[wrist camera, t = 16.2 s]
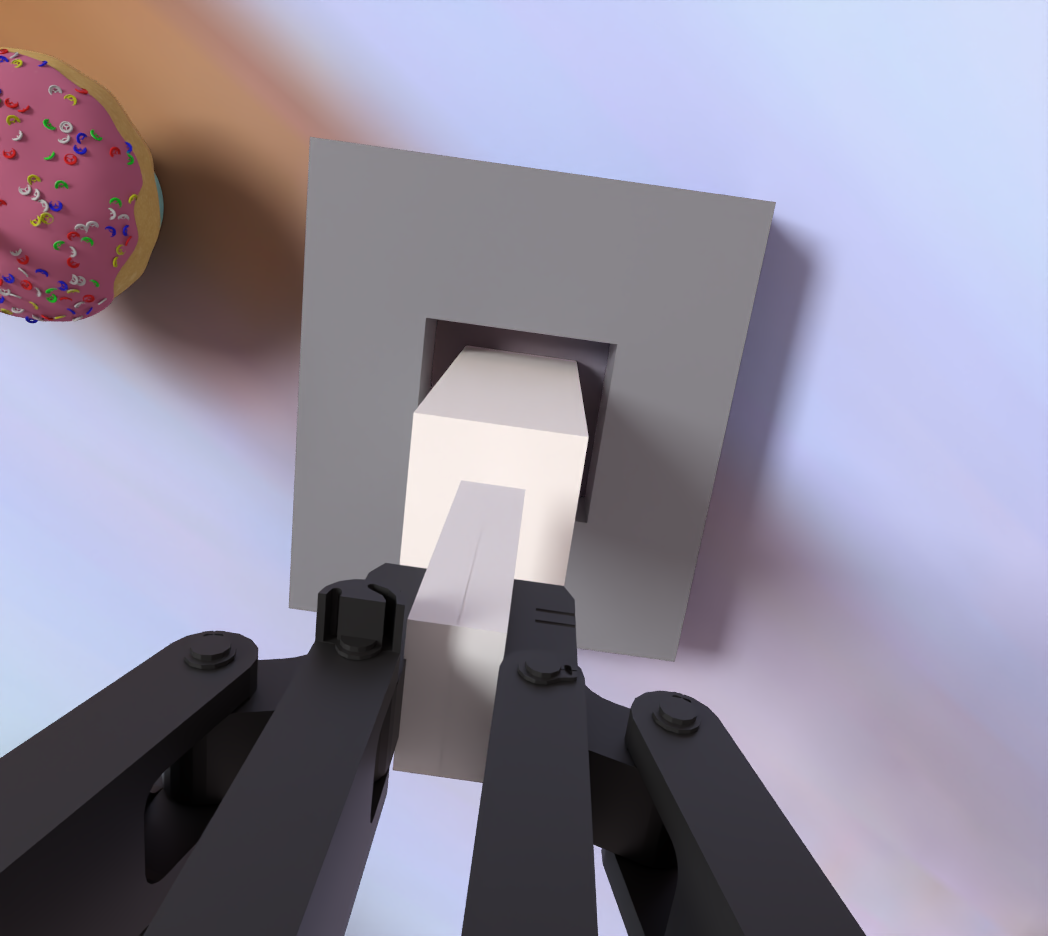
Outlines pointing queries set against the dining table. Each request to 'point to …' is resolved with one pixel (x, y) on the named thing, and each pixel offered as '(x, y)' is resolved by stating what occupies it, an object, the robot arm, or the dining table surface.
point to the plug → (500, 453)
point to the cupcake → (69, 192)
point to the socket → (532, 306)
